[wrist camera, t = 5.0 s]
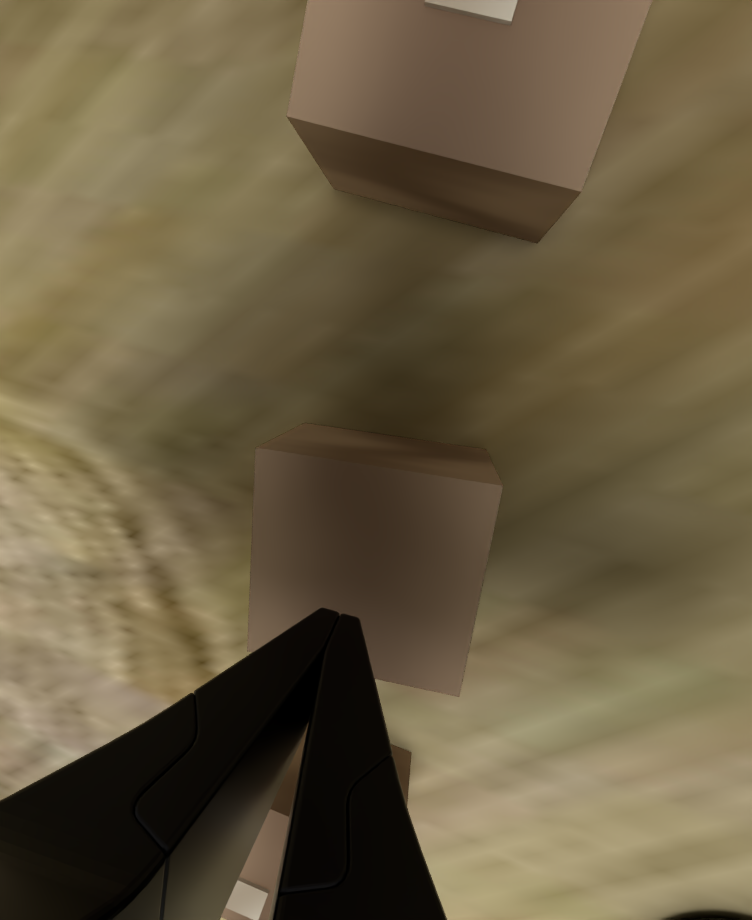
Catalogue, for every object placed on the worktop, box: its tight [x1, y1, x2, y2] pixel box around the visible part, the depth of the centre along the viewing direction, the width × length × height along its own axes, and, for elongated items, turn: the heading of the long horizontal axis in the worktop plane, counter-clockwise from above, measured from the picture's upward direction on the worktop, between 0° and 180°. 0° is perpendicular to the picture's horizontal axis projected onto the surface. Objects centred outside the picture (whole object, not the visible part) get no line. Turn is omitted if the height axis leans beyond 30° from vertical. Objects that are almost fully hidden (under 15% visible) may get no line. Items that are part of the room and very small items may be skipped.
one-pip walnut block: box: [287, 0, 652, 243], centre depth 9 cm, size 6×6×4 cm
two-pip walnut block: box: [221, 725, 411, 920], centre depth 16 cm, size 6×6×4 cm
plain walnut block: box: [247, 423, 503, 697], centre depth 13 cm, size 6×6×4 cm
